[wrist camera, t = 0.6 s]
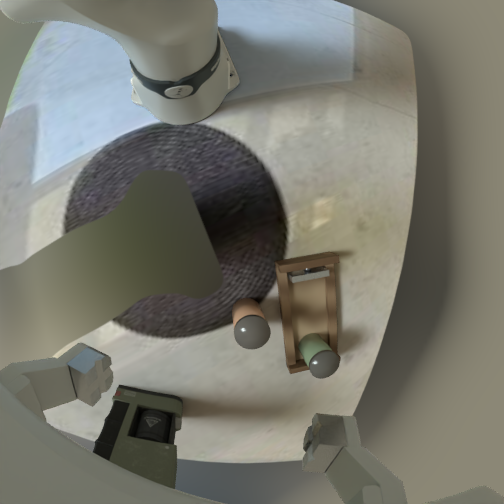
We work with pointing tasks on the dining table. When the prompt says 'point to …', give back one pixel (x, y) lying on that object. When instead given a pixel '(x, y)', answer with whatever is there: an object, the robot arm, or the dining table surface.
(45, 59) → the dining table surface
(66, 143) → the dining table surface
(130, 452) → the device
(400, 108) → the dining table surface
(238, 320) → the terracotta jar
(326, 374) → the olive jar
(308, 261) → the wooden tray
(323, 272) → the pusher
